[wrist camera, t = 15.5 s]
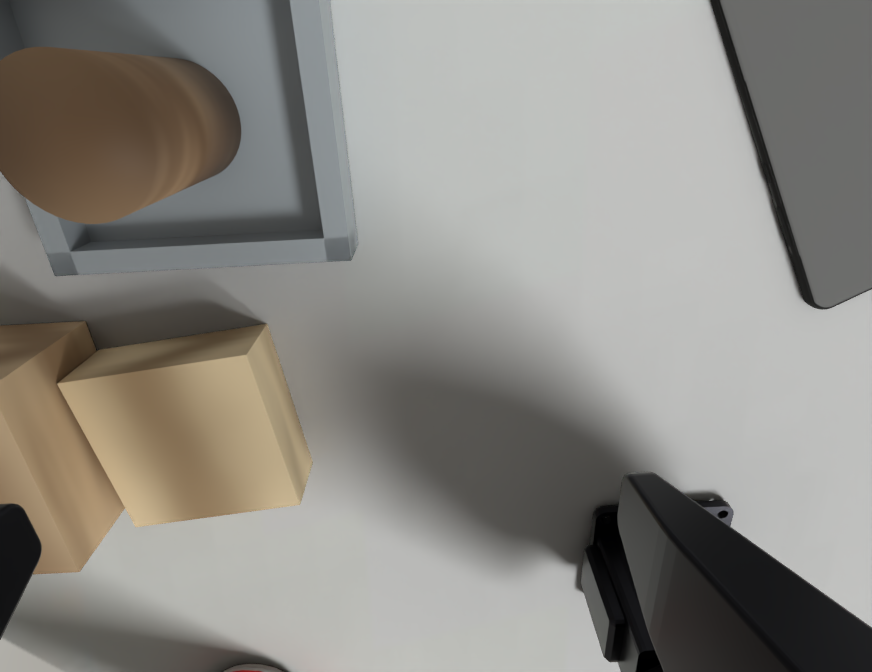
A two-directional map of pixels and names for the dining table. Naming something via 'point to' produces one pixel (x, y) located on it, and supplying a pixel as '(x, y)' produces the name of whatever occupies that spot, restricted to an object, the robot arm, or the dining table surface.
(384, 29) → the dining table surface
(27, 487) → the block
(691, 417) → the dining table surface
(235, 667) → the beer can
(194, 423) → the tan beveled block
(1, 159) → the dowel
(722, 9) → the smartphone
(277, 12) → the tray
